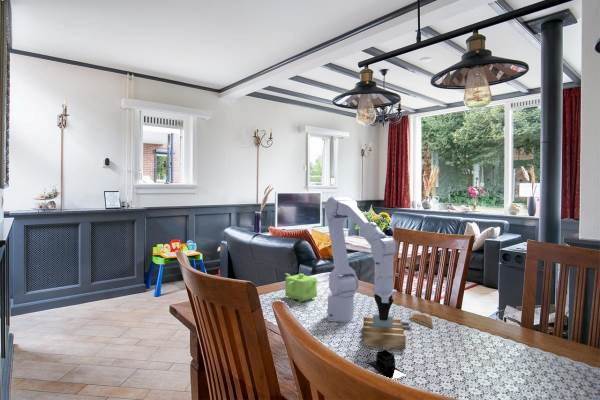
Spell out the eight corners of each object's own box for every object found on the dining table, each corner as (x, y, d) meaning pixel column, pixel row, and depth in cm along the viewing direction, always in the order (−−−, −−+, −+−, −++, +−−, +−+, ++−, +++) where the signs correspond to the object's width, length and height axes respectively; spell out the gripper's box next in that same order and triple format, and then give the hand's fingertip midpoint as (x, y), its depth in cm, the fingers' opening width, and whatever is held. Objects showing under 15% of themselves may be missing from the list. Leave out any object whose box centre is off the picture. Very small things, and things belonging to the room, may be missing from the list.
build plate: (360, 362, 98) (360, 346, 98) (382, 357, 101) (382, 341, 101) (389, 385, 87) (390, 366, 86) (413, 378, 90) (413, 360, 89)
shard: (432, 331, 120) (433, 325, 120) (409, 328, 122) (409, 323, 122) (431, 320, 130) (431, 315, 130) (409, 317, 133) (409, 312, 133)
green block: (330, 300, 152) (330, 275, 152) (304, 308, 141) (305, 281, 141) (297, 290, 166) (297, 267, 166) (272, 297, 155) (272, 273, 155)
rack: (363, 346, 107) (364, 333, 107) (363, 328, 121) (363, 316, 121) (405, 349, 105) (405, 335, 105) (399, 330, 119) (400, 318, 119)
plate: (373, 335, 112) (373, 316, 112) (373, 333, 114) (372, 314, 114) (393, 336, 112) (392, 316, 111) (392, 333, 113) (392, 314, 113)
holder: (388, 329, 120) (389, 326, 120) (387, 323, 125) (387, 320, 125) (410, 330, 119) (410, 327, 119) (408, 324, 124) (408, 321, 124)
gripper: (399, 282, 105) (398, 328, 105) (394, 271, 119) (394, 311, 119) (374, 281, 106) (374, 326, 106) (372, 270, 120) (372, 310, 120)
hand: (383, 318), depth 113 cm, fingers closed on plate, 2 cm apart
